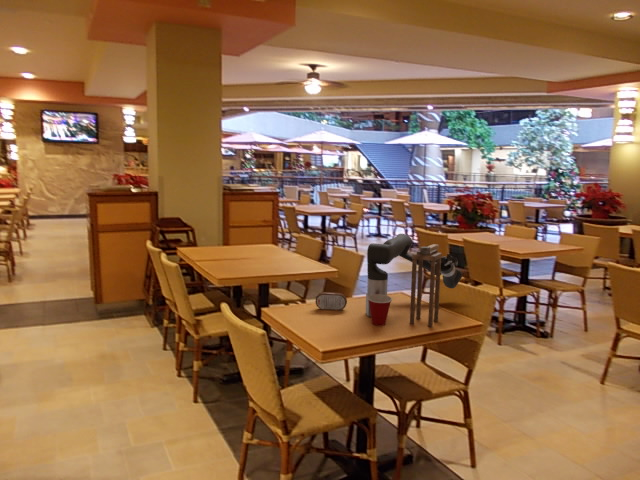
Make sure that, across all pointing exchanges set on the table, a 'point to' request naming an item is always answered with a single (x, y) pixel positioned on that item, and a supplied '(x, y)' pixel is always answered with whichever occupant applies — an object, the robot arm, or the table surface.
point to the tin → (331, 301)
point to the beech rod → (428, 249)
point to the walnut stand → (432, 257)
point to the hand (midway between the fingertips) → (438, 254)
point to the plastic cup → (379, 308)
